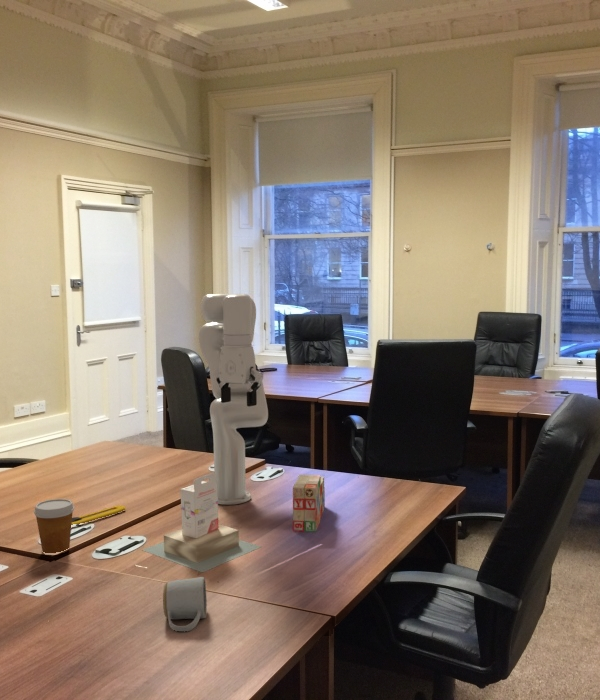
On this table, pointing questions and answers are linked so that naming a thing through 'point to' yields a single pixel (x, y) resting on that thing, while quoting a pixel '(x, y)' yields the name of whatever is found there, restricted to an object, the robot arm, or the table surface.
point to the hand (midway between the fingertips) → (238, 403)
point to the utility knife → (97, 514)
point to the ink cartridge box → (200, 507)
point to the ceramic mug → (185, 601)
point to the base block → (201, 543)
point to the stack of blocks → (308, 502)
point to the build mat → (208, 563)
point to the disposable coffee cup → (54, 524)
